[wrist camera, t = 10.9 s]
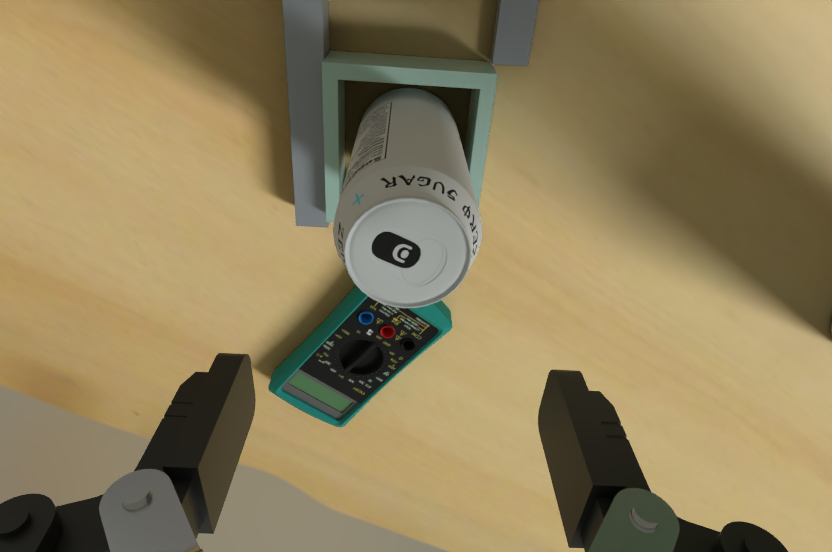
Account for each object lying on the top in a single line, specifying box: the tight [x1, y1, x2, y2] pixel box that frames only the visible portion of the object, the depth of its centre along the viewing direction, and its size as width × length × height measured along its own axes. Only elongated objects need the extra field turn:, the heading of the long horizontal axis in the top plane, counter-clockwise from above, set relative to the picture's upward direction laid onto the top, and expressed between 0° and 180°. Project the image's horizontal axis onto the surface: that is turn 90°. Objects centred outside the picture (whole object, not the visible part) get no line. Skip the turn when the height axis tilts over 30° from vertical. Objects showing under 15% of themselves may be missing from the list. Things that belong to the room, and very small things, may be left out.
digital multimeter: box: [268, 285, 452, 427], centre depth 40 cm, size 7×15×3 cm, turn 140°
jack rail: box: [282, 0, 539, 227], centre depth 27 cm, size 13×25×4 cm, turn 176°
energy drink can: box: [333, 88, 482, 308], centre depth 26 cm, size 6×6×15 cm
